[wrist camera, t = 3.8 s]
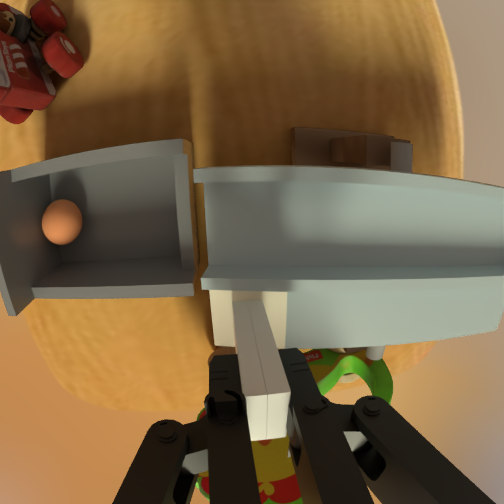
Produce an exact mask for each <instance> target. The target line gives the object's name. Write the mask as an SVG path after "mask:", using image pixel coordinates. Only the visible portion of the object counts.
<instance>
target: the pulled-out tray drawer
mask: <svg viewBox="0 0 504 504" xmlns="http://www.w3.org/2000/svg"><path fill="white" fill-rule="evenodd" d="M193 169H194V167H193V144H192V143H190V142H188V141H187V140H185V139H183V138H181V139H170V140H160V141H151V142H143V143H135V144H128V145H121V146H115V147H109V148H103V149H97V150H91V151H86V152H81V153H76V154H71V155H67V156H62V157H58V158H53V159H49V160H45V161H41V162H37V163H33V164H30V165H26V166H23V167H19V168H16V169H12V170H7V171H1V172H0V292H1V295H2V298H3V301H4V304H5V307H6V310H7V313H8V315H9V316H17V315H18V314H19V313H20V312H21V311H22V310H23V309H24V308H25V307H26V306H27V305H28V304H29V303H30V302H31V301H32V300H33V299H35V298H44V299H114V298H156V297H183V296H194V294H195V287H196V281H197V275H198V269H199V263H200V261H199V249H198V236H197V222H196V206H195V189H194V176H193ZM61 199H65V200H69V201H71V202H73V203H74V204H76V205H77V207H78V208H79V210H80V212H81V214H82V220H83V221H82V228H81V231H80V233H79V235H78V236H77V238H76V239H75V240H73V241H72V242H70V243H68V244H65V245H58V244H55V243H53V242H51V241H50V240H49V239H48V238H47V237H46V236H45V234H44V232H43V229H42V217H43V214H44V211H45V210H46V208H47V207H48V206H49V205H50V204H51V203H53V202H54V201H56V200H61Z"/></svg>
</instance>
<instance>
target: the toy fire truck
mask: <svg viewBox="0 0 504 504" xmlns="http://www.w3.org/2000/svg"><path fill="white" fill-rule="evenodd" d="M30 16H31V18H30V19H29V18H28V17H26V16H25V15H24V14H23V13H22V12H21V11H18V10H16V9H15V8H12V7H11V6H9V5H7V4H5V3H0V115H1V116H2V117H3V118H4V119H5V120H7V121H8V122H10V123H13V124H20V123H22V122H24V121H25V120H26V119H27V118H28V117H29V116H30V115H31V113H32V112H33V110H44V109H45V108H46V107H47V106H48V105H49V104H50V103H51V102H52V101H53V100H54V98H55V97H56V90H55V88H54V86H53V84H52V82H51V80H52V75H51V73H50V72H51V71H53V70H55V71H56V72H57V73H59V74H60V76H62V77H64V78H70V77H72V76H73V75H74V74H75V73H77V72H78V71H79V70H80V69H81V68H82V67H83V64H84V62H83V58H82V56H81V54H80V52H79V51H78V49H77V48H76V46H75V45H74V44H73V43H72V41H71V40H70V39H69V38H68V37H67V36H66V35H64V34H63V33H61V32H60V31H62V30H63V29H64V28H65V27H66V25H67V21H66V19H65V17H64V15H63V13H62V12H61V10H60V9H59V8H58V7H57V5H56V4H55V3H53V2H52V1H51V0H40V1H39V2H37V3H36V4H35V5H34V6H33V7H32V8H31V10H30ZM45 35H47V36H49V38H48V39H47V40H45V41H44V42H43V44H42V45H41V51H42V54H43V56H44V58H45V60H46V61H47V62H46V63H45V64H44V63H43V60H42V58H41V55H40V53H39V50H38V48H37V46H36V43H35V42H36V40H40V39H42V38H43V37H44V36H45Z"/></svg>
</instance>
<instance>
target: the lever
mask: <svg viewBox="0 0 504 504" xmlns="http://www.w3.org/2000/svg"><path fill="white" fill-rule="evenodd" d="M193 176H194V183H204V201H205V219H206V235H207V250H208V263H209V265H208V267H207V269H206V270H205V272H204V273H203V275H202V277H201V286H202V290H209V293H210V304H211V314H212V324H213V333H214V342H215V345H216V346H228V347H235V338H234V323H233V306H232V302H239V301H254V300H262V301H263V304H264V307H265V311H266V314H267V317H268V320H269V323H270V327H271V330H272V333H273V336H274V339H275V343H276V346H277V348H280V349H288V348H297V349H319V348H351V347H367V350H366V357H367V358H369V359H371V360H380V359H381V358H382V357H383V353H384V350H385V346H386V345H397V344H407V343H417V342H426V341H434V340H442V339H449V338H455V337H462V336H468V335H474V334H480V333H485V332H490V331H496V330H497V327H498V325H499V322H500V319H501V317H502V314H503V310H504V187H501V186H496V185H491V184H485V183H480V182H474V181H468V180H463V179H456V178H450V177H443V176H436V175H428V174H420V173H412V144H410V143H403V142H391V167H390V170H381V169H368V168H353V167H334V166H305V165H245V166H216V167H204V168H197V169H193Z"/></svg>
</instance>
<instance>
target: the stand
mask: <svg viewBox="0 0 504 504" xmlns="http://www.w3.org/2000/svg"><path fill="white" fill-rule="evenodd" d="M391 142H403V143H410V141H407V140H401V139H395V138H394V137H393V136H386V135H379V134H372V133H363V132H354V131H344V130H333V129H319V128H301V127H294V128H292V165H305V166H334V167H353V168H368V169H381V170H390V167H391ZM343 349H344V351H345V353H346V354H347V353H352V352H357V351H362V350H367V347H351V348H343Z"/></svg>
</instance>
